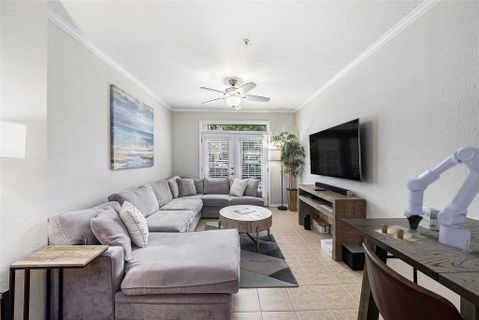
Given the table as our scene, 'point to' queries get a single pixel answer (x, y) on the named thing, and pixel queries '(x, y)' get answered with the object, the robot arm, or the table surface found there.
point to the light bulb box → (430, 218)
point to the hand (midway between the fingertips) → (413, 229)
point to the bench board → (406, 239)
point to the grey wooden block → (405, 231)
